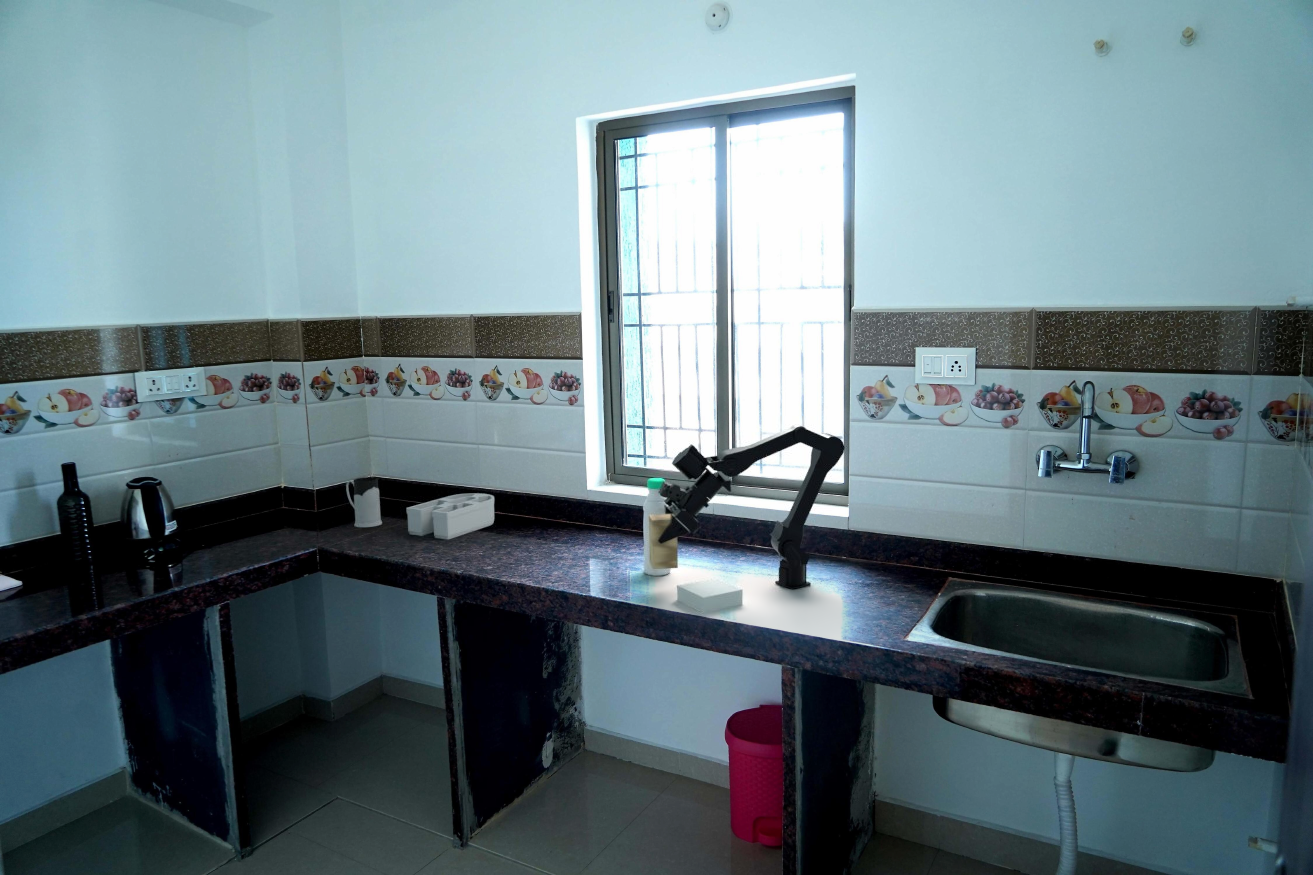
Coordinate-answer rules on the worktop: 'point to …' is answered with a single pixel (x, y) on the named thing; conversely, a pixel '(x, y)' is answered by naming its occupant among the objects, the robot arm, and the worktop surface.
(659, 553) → the honey wood block
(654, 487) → the water bottle
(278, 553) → the worktop surface
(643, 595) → the worktop surface
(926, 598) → the worktop surface
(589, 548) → the worktop surface
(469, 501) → the white compartment organizer
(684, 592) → the grey base block
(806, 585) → the robot arm
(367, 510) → the white and grey pitcher
